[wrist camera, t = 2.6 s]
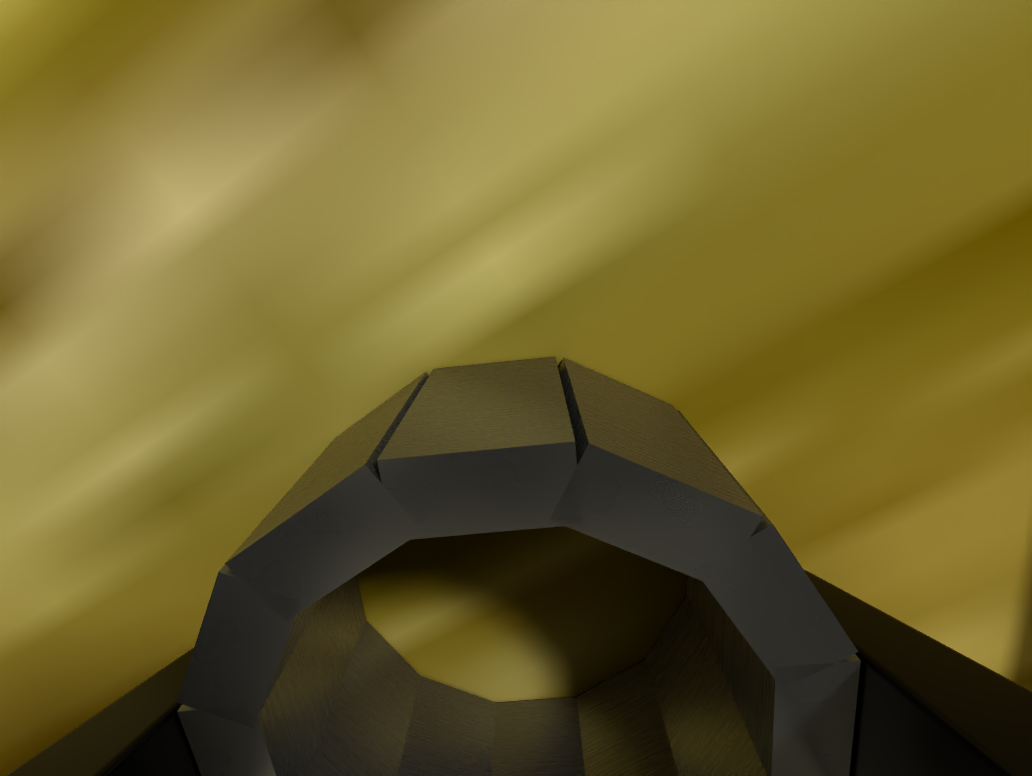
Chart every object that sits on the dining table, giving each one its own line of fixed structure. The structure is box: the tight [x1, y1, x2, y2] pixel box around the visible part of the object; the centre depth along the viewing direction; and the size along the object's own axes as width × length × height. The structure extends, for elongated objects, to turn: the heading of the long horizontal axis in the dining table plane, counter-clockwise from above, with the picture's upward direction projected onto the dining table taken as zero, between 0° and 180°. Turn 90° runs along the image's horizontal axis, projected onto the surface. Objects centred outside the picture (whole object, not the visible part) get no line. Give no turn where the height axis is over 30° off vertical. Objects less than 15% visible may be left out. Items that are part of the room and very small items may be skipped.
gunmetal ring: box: [177, 357, 861, 776], centre depth 7 cm, size 7×7×3 cm
